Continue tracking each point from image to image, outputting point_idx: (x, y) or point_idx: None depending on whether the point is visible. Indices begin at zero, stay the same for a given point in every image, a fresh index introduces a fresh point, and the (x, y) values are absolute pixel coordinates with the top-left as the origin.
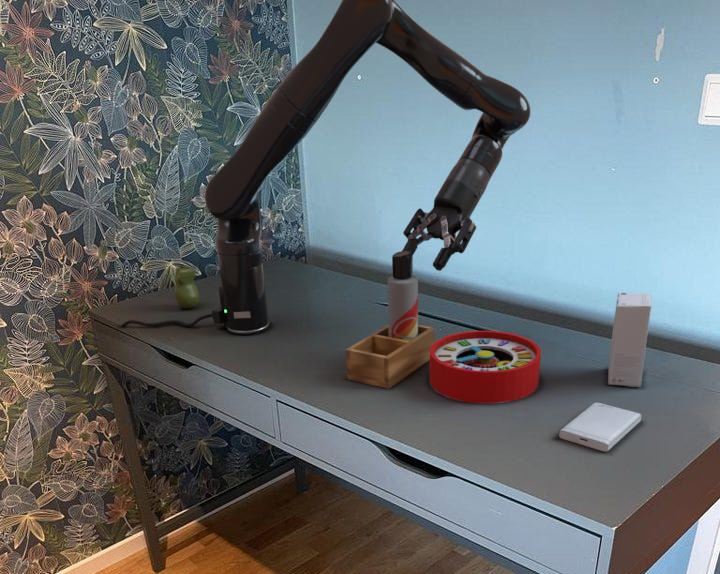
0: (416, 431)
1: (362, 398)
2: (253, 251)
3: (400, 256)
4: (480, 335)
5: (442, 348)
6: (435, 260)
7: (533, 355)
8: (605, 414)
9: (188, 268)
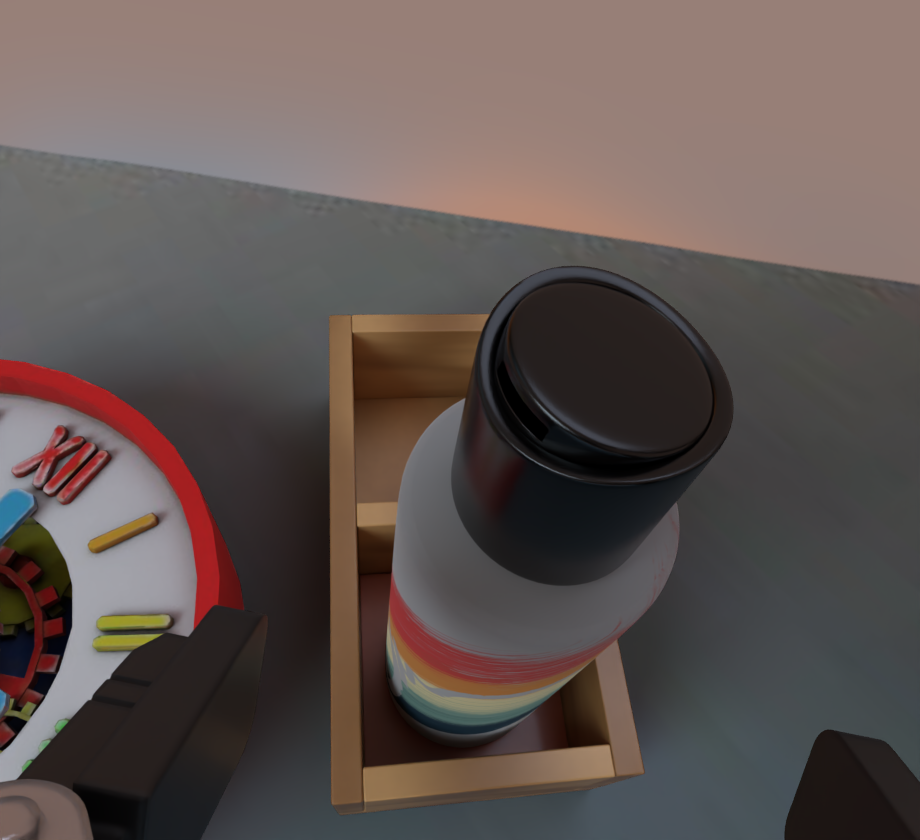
0: (93, 214)
1: (376, 304)
2: None
3: (559, 284)
4: None
5: (183, 622)
6: (229, 632)
7: None
8: None
9: None
